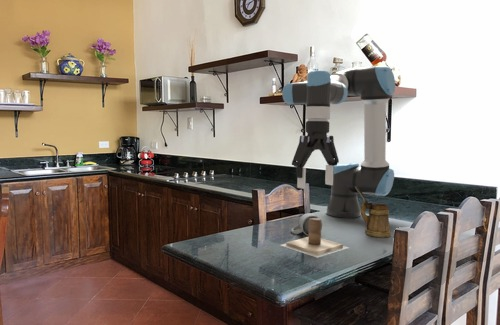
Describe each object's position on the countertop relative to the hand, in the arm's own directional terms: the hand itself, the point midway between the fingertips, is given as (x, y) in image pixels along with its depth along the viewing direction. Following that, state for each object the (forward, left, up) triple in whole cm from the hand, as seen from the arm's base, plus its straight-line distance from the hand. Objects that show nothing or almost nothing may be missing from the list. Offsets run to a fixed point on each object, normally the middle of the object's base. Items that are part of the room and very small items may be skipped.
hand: (315, 186), depth 130 cm
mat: (0, 0, -20) cm, 20 cm away
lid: (0, 0, -20) cm, 20 cm away
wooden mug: (-30, +2, -21) cm, 37 cm away
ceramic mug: (-11, -13, -21) cm, 27 cm away
